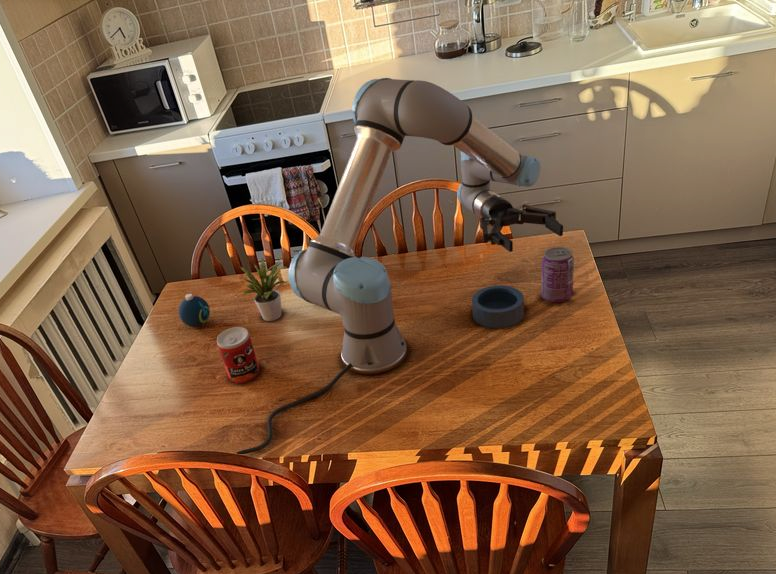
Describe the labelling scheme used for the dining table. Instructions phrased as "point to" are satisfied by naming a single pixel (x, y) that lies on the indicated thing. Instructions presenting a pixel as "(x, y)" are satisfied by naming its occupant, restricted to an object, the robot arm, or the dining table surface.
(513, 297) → the dark grey bowl
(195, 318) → the christmas ornament
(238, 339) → the canned food
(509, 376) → the dining table surface
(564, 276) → the beverage can
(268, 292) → the house plant
